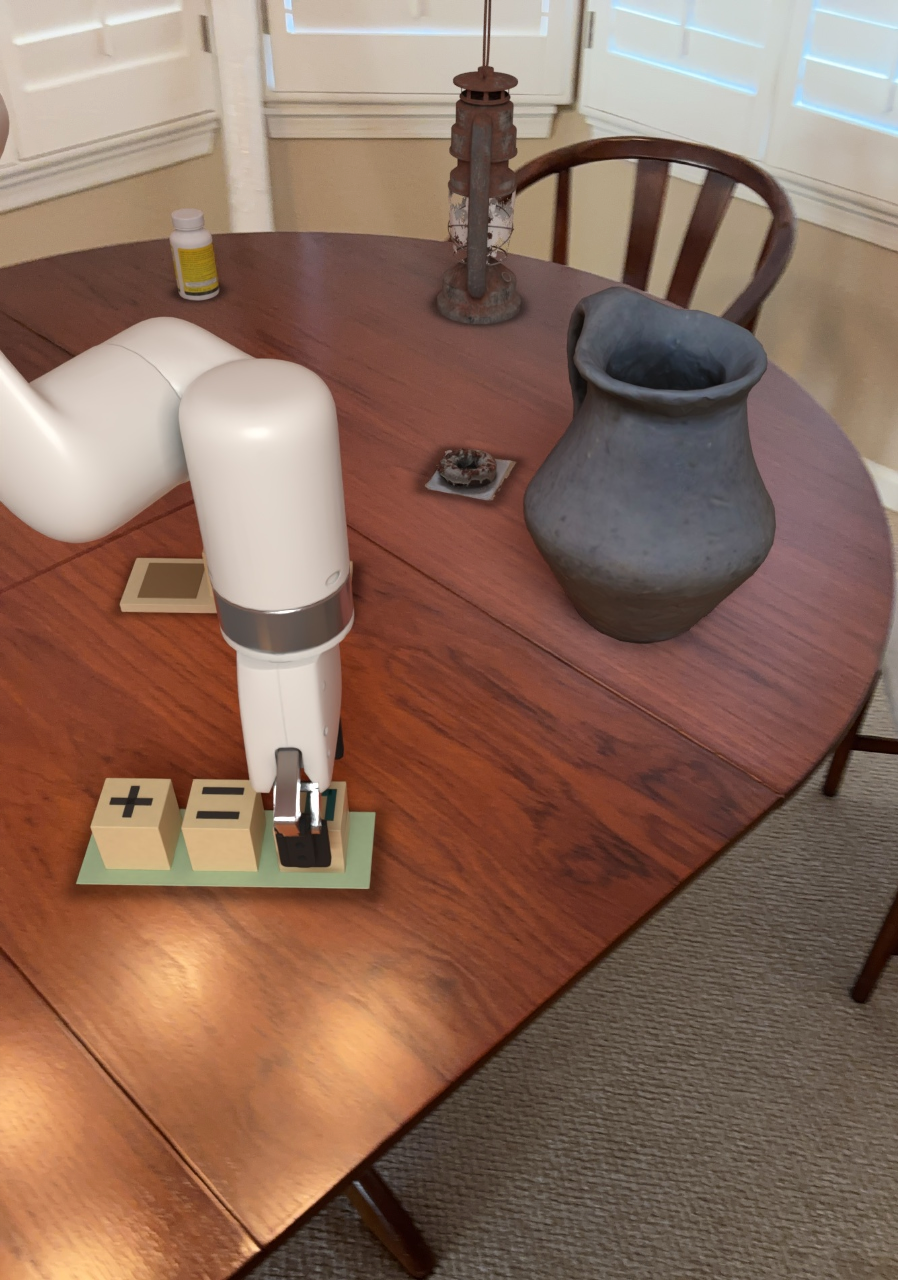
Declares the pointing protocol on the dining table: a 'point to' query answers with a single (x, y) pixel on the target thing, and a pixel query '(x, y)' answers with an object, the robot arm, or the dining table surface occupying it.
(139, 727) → the dining table surface
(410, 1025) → the dining table surface
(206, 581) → the mat
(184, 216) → the supplement bottle
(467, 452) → the donut
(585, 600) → the pitcher
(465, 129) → the lantern
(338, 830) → the cream block
